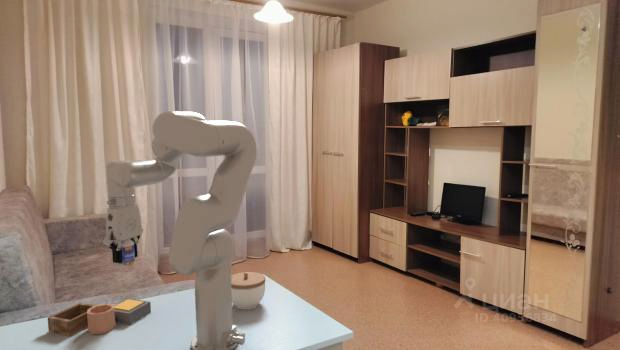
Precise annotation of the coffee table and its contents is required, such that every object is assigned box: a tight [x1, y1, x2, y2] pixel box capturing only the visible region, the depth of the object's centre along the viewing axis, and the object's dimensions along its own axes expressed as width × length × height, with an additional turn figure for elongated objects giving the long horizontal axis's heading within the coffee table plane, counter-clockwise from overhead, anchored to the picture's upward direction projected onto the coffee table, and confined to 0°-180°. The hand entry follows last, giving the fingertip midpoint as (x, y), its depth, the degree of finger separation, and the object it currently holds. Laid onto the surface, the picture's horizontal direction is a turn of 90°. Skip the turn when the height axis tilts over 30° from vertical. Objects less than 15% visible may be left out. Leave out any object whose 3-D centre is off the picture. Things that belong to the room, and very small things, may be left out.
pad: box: [114, 299, 144, 312], centre depth 129 cm, size 6×6×1 cm
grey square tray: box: [113, 297, 152, 325], centre depth 129 cm, size 9×9×4 cm
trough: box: [47, 302, 97, 337], centre depth 123 cm, size 8×11×4 cm
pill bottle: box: [115, 238, 136, 269], centre depth 127 cm, size 5×5×10 cm
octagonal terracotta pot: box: [87, 303, 116, 335], centre depth 121 cm, size 7×7×6 cm
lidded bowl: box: [231, 271, 266, 311], centre depth 136 cm, size 13×13×11 cm
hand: (125, 259), depth 128 cm, fingers closed on pill bottle, 5 cm apart
